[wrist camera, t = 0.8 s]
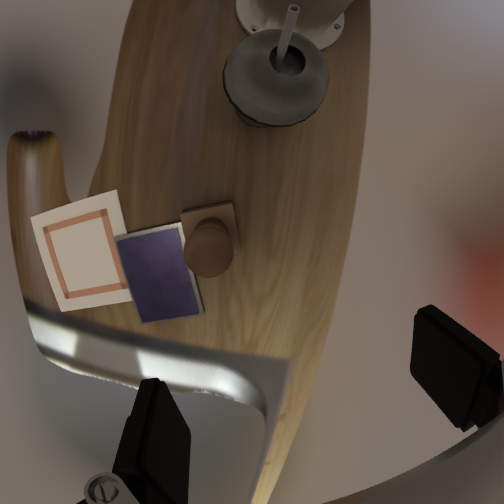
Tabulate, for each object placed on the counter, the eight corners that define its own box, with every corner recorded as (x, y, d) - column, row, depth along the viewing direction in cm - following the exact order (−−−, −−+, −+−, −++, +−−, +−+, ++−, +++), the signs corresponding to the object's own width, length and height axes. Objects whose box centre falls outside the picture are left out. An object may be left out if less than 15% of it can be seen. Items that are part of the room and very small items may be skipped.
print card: (31, 216, 29) (29, 217, 29) (117, 189, 30) (115, 189, 29) (62, 310, 33) (60, 312, 32) (146, 297, 33) (145, 298, 33)
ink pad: (115, 235, 31) (111, 238, 30) (182, 220, 31) (180, 223, 30) (142, 320, 34) (139, 327, 33) (204, 310, 35) (204, 316, 33)
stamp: (183, 209, 31) (164, 233, 21) (231, 199, 31) (235, 218, 21) (194, 255, 33) (181, 298, 22) (240, 246, 33) (248, 285, 22)
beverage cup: (246, 152, 30) (285, 134, 11) (209, 97, 28) (190, 3, 9) (303, 119, 29) (411, 71, 10) (267, 65, 27) (325, -43, 8)
